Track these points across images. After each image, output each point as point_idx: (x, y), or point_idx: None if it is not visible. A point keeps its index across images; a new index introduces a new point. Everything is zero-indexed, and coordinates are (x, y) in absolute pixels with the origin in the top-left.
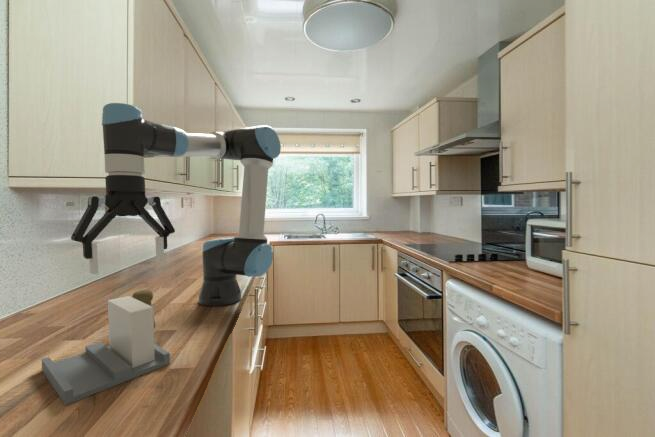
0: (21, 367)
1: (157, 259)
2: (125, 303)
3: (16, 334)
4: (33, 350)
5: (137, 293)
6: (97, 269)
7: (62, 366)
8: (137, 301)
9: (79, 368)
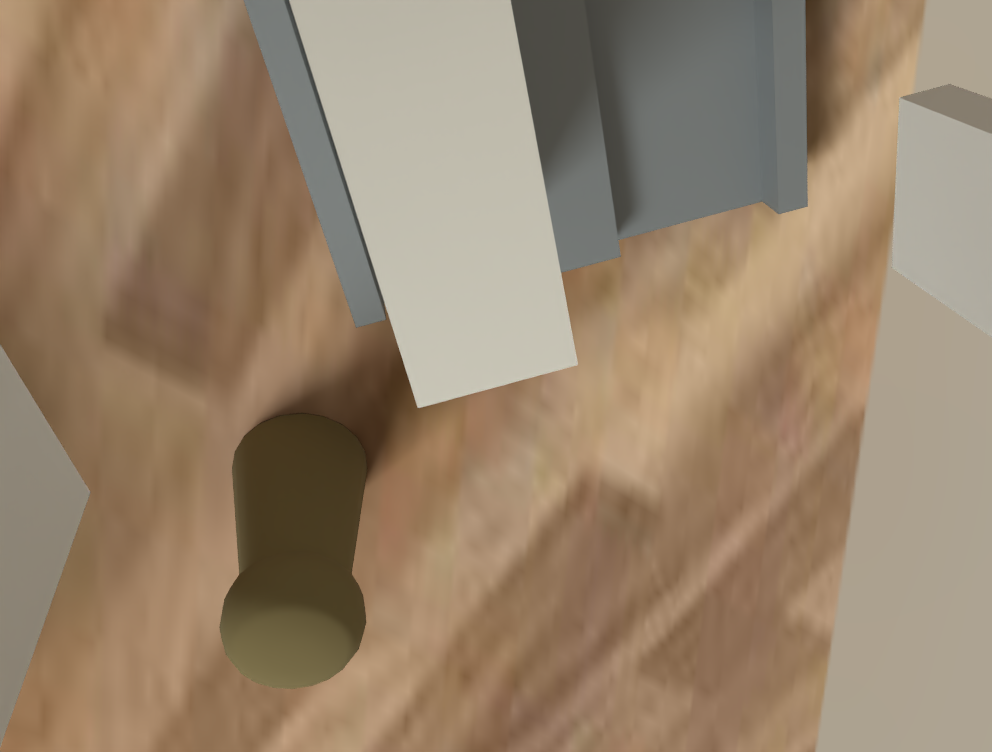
0: (835, 283)
1: (54, 491)
2: (468, 165)
3: (797, 657)
4: (773, 451)
5: (330, 625)
6: (948, 113)
7: (721, 119)
8: (365, 168)
9: (660, 28)
